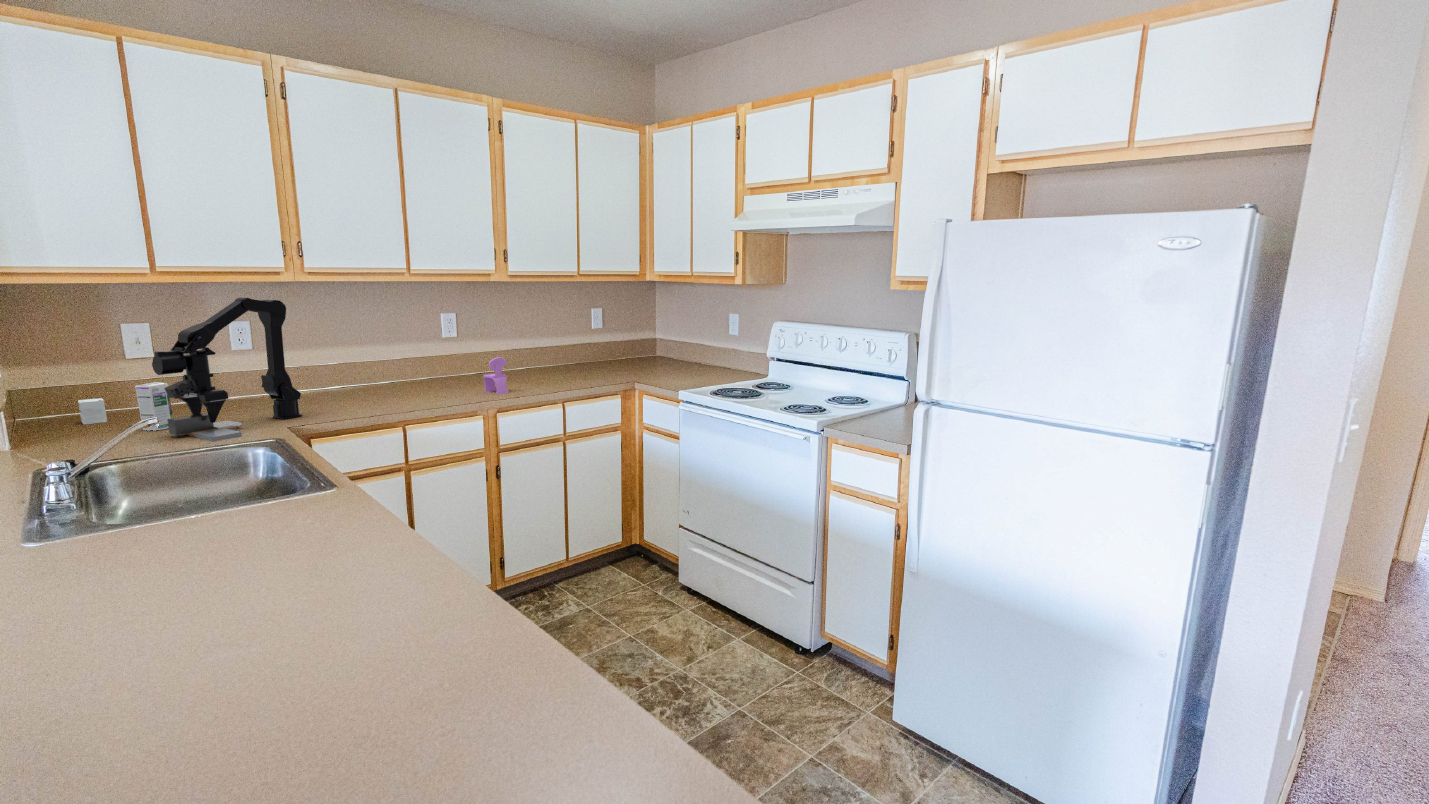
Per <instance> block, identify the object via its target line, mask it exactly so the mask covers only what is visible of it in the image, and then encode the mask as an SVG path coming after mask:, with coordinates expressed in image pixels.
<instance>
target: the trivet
mask: <svg viewBox="0 0 1429 804" xmlns="http://www.w3.org/2000/svg"><path fill="white" fill-rule="evenodd" d="M222 429H225V428H222ZM226 429H230V430H235V431H238V426H234V427H228V428H226ZM214 430H219V429H209V430H204V431H198V432H192V433H187V434H184V435H185V436H189V435H190V436H189V437H194V436H195V438H196V434H197V433H202V432H208V431H214Z"/></svg>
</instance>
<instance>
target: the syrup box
mask: <svg viewBox="0 0 1429 804" xmlns="http://www.w3.org/2000/svg"><path fill="white" fill-rule="evenodd" d="M168 386H169V384H168V383H167V382H160V381H159V382H157V381H156V382H149V383H144V384H137V385H135V386H134V388H135V393H136V400H137V404H138V409H139V415H140V421H142V420H145V419H148V418H150V417H157V418H158V420H159V426H158V429H157V428H156V427H155V426H152V427H148V428H142V430H143V431H146V430H147V432H151V431H150V430H153V431H152V432H157V431H156V430H159V431H163V430H167V429H168V430H169V427H168V420H167V419H171V418H174V415H173V414H174V413H173V410H172V409H173V408H172V403H171V398H170V397H169V395H168V394H167V392H166V391H165V389H164V388H166V387H168Z"/></svg>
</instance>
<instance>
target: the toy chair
mask: <svg viewBox="0 0 1429 804" xmlns="http://www.w3.org/2000/svg"><path fill="white" fill-rule="evenodd" d="M506 365H507V360H506V358H504V357H503V356H498V357H494V358H492V359H491V360H490V361H489V362H488V366H489V368H490V370H492V371H493V372H494V373H490V374H483V378H482V379H483V382H484V393H490V392H496V393H495V395H503V394H508V393H510V391H509V388H508V387H507V386H508V385H507V380H508V377H507V374H505V373H503V368H504V367H505V366H506Z"/></svg>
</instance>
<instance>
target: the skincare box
mask: <svg viewBox="0 0 1429 804" xmlns="http://www.w3.org/2000/svg"><path fill="white" fill-rule="evenodd" d="M77 403H78V404H77V405H78V409H79V415H80V421H81V423H82V425H92V424H100V423H107V422H108V417H107V412H106V406H105V405H106V404H105V400H104V399H103V398H102V397H101V398H89V399H88V398H87V399H79V400H77Z"/></svg>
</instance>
